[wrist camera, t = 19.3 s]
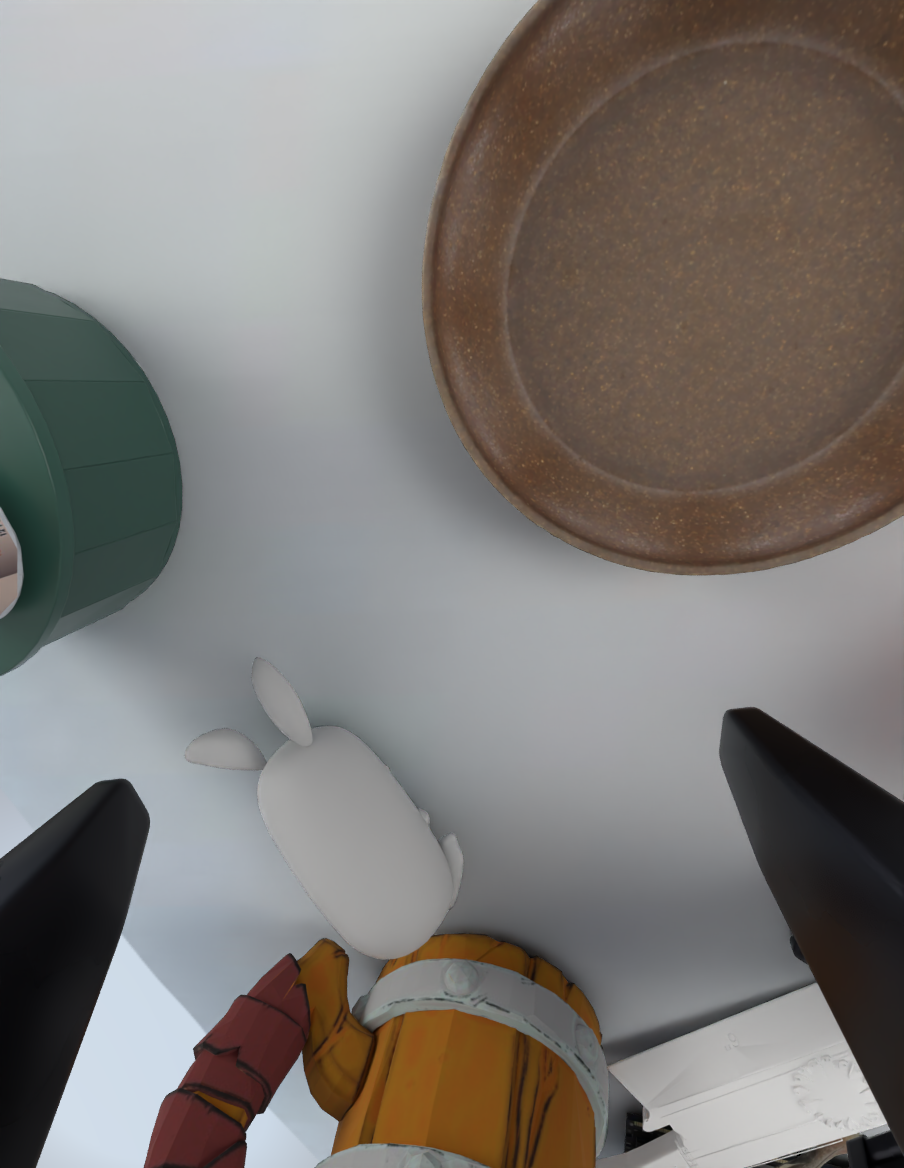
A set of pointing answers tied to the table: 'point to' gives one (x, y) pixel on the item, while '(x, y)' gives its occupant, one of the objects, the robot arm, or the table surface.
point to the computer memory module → (641, 1137)
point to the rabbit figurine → (343, 825)
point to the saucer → (680, 277)
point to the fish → (819, 1154)
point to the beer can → (9, 566)
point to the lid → (32, 519)
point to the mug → (404, 1063)
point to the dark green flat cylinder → (98, 448)
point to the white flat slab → (748, 1088)
